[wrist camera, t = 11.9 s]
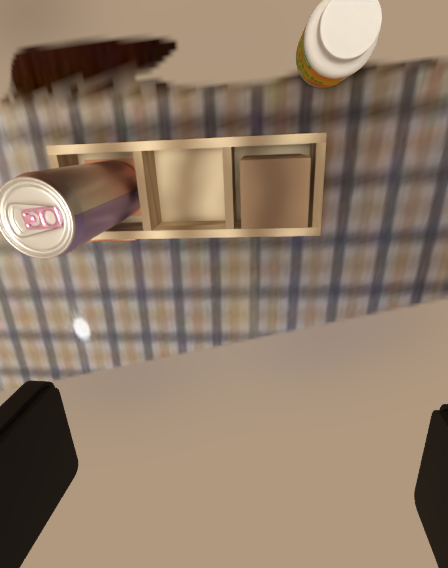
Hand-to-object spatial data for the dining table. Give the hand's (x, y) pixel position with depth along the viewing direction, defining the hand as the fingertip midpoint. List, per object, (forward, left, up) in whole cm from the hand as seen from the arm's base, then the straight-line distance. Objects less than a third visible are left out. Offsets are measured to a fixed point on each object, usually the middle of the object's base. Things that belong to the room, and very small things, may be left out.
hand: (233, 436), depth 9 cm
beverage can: (+14, -3, -31) cm, 34 cm away
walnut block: (-2, -3, -31) cm, 31 cm away
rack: (+6, -3, -32) cm, 32 cm away
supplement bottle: (-7, -14, -32) cm, 35 cm away
